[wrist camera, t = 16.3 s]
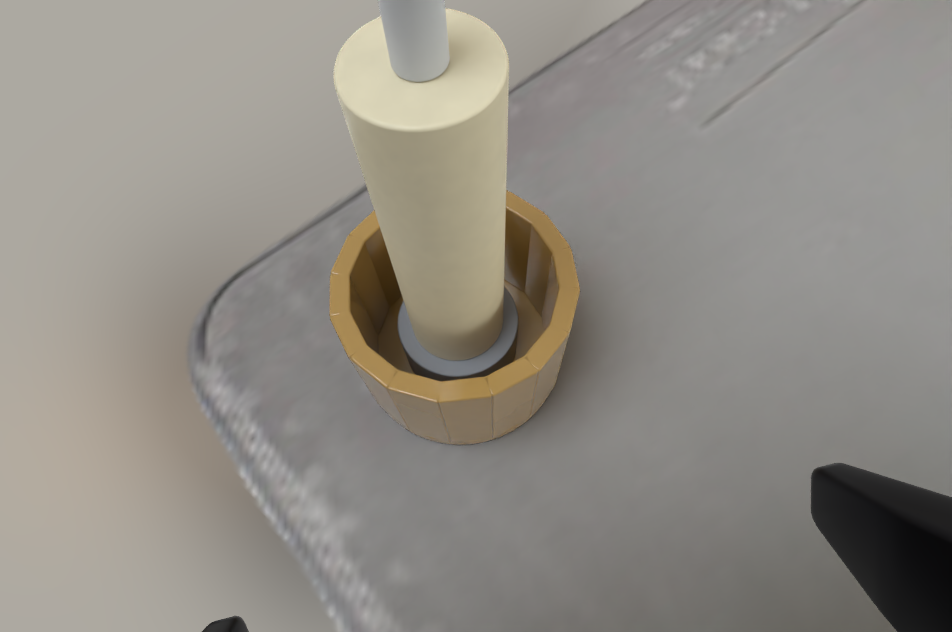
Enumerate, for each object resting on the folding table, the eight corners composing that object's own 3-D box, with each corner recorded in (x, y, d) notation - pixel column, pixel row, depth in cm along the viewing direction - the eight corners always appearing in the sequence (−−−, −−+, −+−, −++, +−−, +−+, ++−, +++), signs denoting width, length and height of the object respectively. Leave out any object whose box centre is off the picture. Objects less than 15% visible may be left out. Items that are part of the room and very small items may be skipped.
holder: (477, 489, 18) (470, 456, 14) (325, 362, 21) (277, 300, 16) (598, 332, 21) (626, 262, 16) (450, 234, 23) (439, 147, 18)
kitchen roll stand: (531, 377, 20) (599, -36, 7) (421, 410, 19) (265, 40, 6) (497, 282, 21) (497, -192, 8) (394, 310, 21) (230, -140, 8)
